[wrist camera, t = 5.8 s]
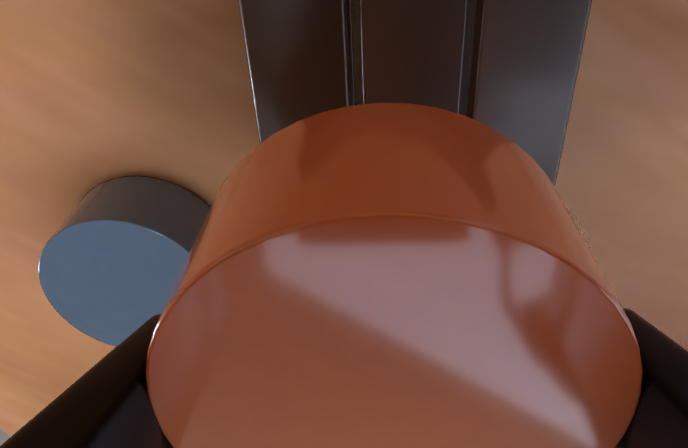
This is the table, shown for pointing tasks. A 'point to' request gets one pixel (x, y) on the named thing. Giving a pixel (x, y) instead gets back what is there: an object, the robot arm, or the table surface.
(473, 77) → the walnut rack
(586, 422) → the terracotta disc
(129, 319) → the slate-blue disc
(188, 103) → the table surface
